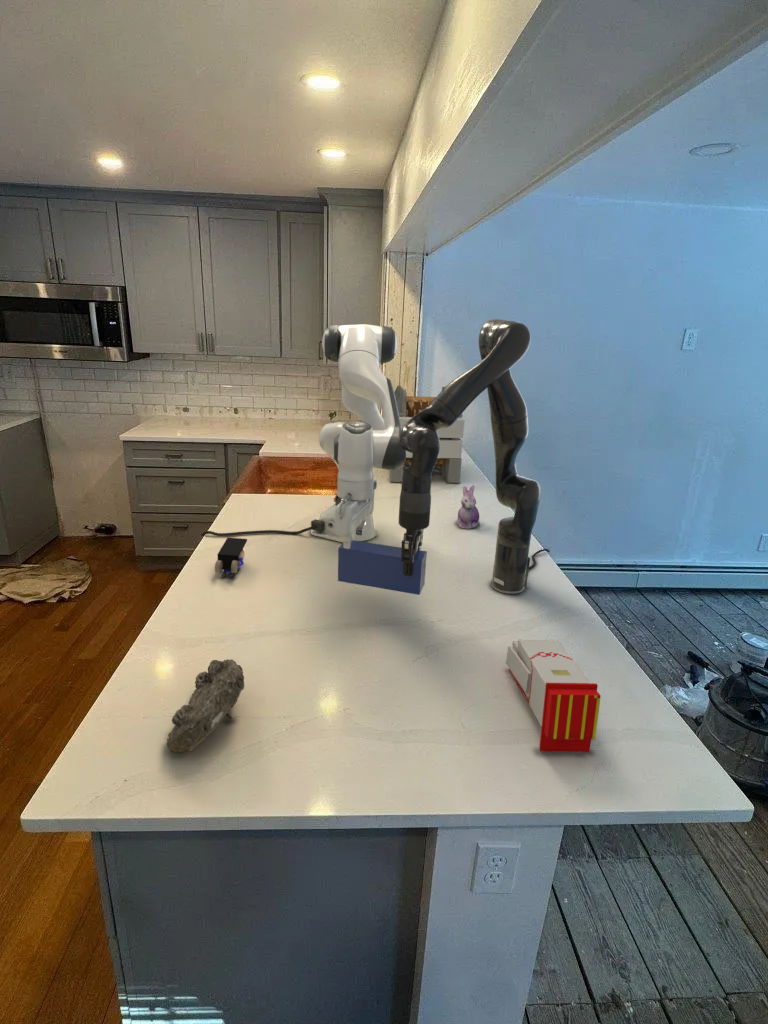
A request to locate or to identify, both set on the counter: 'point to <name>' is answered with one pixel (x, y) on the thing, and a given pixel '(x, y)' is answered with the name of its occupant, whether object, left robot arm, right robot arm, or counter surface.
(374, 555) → the box
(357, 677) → the counter surface
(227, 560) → the figurine character
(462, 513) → the figurine
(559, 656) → the toy
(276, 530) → the left robot arm
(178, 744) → the fossil
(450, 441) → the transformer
